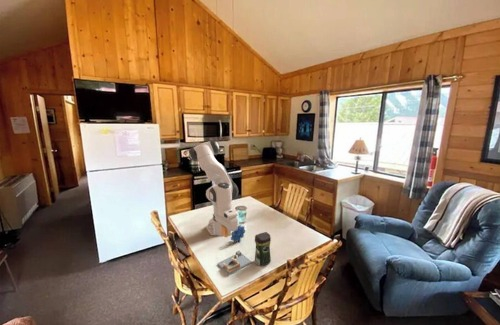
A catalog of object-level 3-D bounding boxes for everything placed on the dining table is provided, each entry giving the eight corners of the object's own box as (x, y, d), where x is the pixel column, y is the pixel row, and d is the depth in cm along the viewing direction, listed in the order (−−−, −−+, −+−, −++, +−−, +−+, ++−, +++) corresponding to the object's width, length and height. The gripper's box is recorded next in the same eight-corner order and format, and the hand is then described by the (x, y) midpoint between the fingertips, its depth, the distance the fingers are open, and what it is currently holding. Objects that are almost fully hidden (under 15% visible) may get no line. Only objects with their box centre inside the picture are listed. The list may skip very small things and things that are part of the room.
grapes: (242, 236, 160) (242, 221, 158) (246, 240, 154) (246, 225, 152) (228, 240, 154) (228, 225, 152) (232, 245, 148) (232, 229, 146)
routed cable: (224, 260, 131) (224, 257, 130) (238, 253, 138) (238, 250, 137) (230, 265, 126) (229, 262, 125) (244, 258, 133) (244, 255, 132)
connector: (221, 234, 128) (221, 224, 126) (227, 232, 130) (226, 222, 129) (225, 237, 125) (224, 226, 123) (230, 235, 127) (230, 224, 126)
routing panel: (217, 264, 128) (217, 263, 128) (240, 253, 139) (240, 252, 139) (228, 275, 119) (228, 273, 119) (251, 262, 130) (251, 261, 130)
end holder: (223, 266, 125) (222, 263, 124) (233, 261, 130) (233, 257, 129) (229, 273, 120) (229, 269, 119) (240, 267, 124) (240, 263, 124)
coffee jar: (264, 255, 137) (265, 229, 133) (272, 262, 130) (273, 234, 127) (252, 260, 132) (252, 233, 128) (259, 268, 125) (260, 239, 122)
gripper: (211, 206, 131) (213, 227, 133) (229, 217, 115) (230, 240, 117) (220, 204, 134) (221, 224, 137) (239, 214, 119) (240, 236, 121)
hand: (226, 232), depth 127 cm, fingers closed on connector, 4 cm apart
